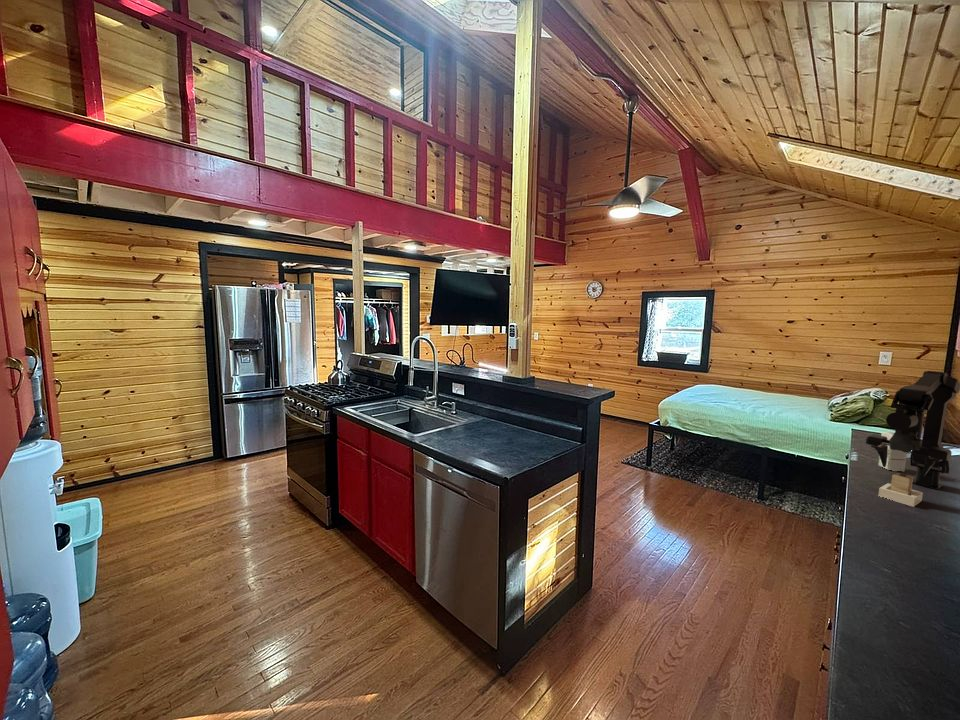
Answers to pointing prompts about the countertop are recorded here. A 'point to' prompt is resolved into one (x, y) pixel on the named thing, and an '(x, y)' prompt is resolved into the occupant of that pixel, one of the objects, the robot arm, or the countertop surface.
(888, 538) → the countertop surface
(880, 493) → the cream square ring
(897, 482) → the wooden peg
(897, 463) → the syrup box
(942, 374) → the robot arm
